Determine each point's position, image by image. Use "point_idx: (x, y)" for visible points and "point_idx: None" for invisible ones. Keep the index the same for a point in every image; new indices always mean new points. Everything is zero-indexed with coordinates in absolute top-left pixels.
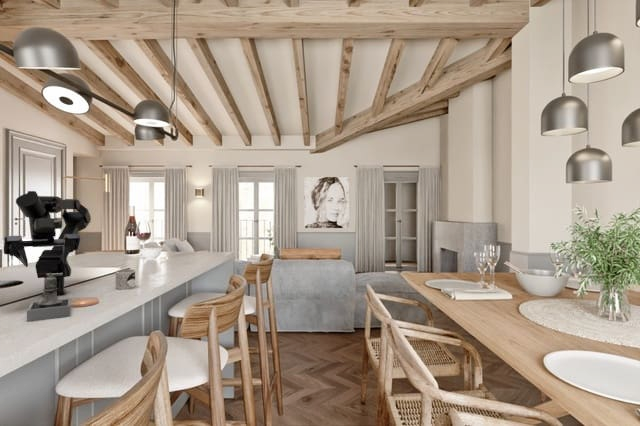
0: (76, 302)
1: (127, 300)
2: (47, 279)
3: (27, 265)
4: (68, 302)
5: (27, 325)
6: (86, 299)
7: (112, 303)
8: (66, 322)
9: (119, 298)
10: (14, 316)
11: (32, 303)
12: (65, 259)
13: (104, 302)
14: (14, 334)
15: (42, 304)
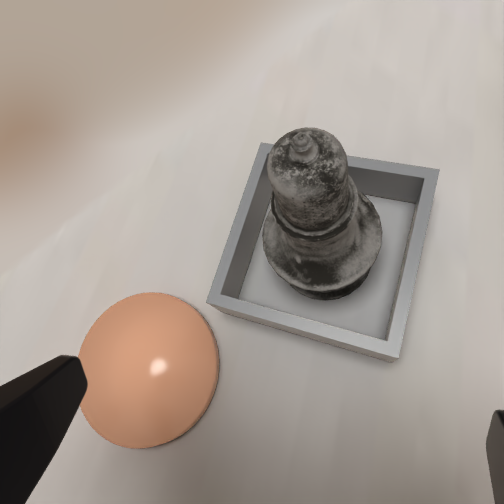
0: (180, 347)
1: (10, 277)
2: (331, 134)
3: (495, 415)
4: (245, 212)
5: (433, 136)
6: (121, 382)
7: (72, 268)
8: (306, 90)
9: (4, 348)
10: (472, 348)
11: (394, 327)
12: (39, 370)
13: (81, 316)
14: (485, 46)
15: (364, 200)
